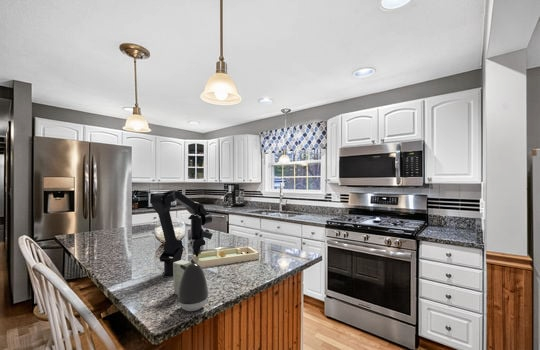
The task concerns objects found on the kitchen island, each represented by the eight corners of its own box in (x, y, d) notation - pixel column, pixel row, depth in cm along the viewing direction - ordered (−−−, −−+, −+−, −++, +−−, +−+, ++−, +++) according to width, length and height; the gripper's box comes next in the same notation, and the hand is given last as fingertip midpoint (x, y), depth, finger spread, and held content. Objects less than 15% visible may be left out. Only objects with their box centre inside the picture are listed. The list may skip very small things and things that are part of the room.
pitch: (259, 259, 142) (259, 252, 142) (197, 268, 128) (197, 261, 128) (249, 252, 157) (248, 246, 157) (192, 259, 142) (192, 253, 143)
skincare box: (192, 292, 99) (192, 261, 100) (183, 297, 96) (183, 264, 96) (182, 289, 103) (182, 259, 103) (172, 293, 99) (172, 262, 99)
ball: (226, 257, 142) (226, 251, 142) (220, 258, 140) (220, 252, 140) (225, 256, 145) (225, 250, 145) (219, 257, 143) (219, 250, 143)
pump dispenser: (189, 299, 94) (189, 258, 94) (213, 302, 91) (213, 260, 91) (170, 312, 84) (170, 266, 84) (197, 317, 81) (197, 269, 81)
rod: (235, 255, 144) (235, 245, 144) (193, 261, 134) (193, 250, 134) (233, 254, 147) (233, 244, 147) (192, 260, 137) (192, 248, 137)
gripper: (215, 228, 132) (215, 258, 131) (207, 223, 149) (208, 249, 148) (193, 230, 127) (193, 261, 127) (188, 224, 144) (188, 252, 144)
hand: (196, 255), depth 136 cm, fingers closed on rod, 3 cm apart
